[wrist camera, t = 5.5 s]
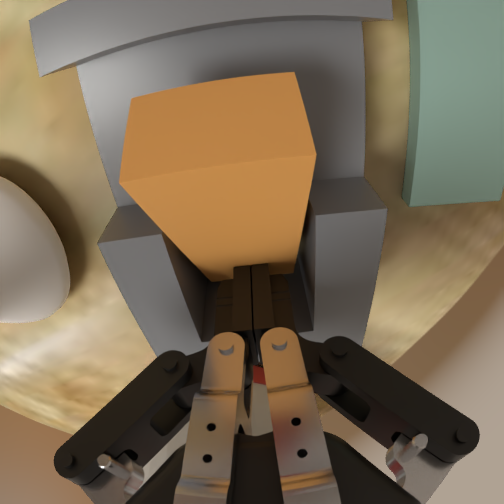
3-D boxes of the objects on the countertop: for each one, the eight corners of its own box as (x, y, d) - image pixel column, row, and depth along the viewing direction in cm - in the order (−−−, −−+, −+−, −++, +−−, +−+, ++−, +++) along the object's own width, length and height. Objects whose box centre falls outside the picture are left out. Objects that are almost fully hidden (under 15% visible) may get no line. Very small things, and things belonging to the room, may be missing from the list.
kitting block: (99, 19, 10) (28, 20, 5) (332, -17, 9) (385, -42, 5) (176, 292, 19) (163, 367, 15) (337, 274, 19) (361, 347, 15)
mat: (400, -44, 8) (410, -48, 7) (505, -9, 8) (517, -8, 7) (401, 197, 16) (409, 207, 15) (491, 192, 16) (500, 200, 15)
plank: (131, 98, 7) (118, 183, 6) (294, 71, 7) (316, 154, 6) (208, 234, 16) (211, 282, 16) (286, 224, 16) (293, 272, 15)
